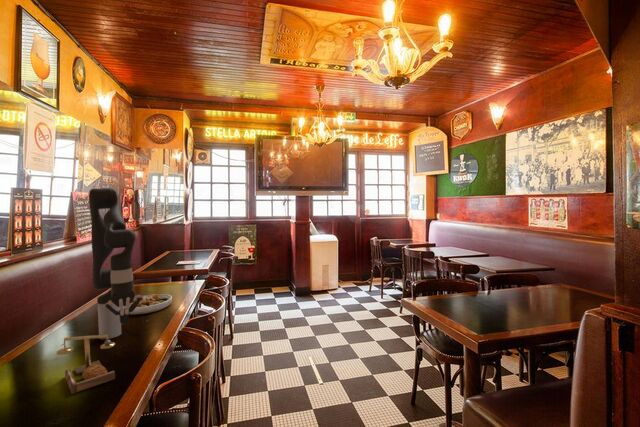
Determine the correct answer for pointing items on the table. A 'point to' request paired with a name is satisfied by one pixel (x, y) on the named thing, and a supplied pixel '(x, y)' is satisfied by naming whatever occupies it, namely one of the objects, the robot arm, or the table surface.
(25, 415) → the table surface
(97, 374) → the pastry
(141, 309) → the bowl
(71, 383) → the rail
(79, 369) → the balance
